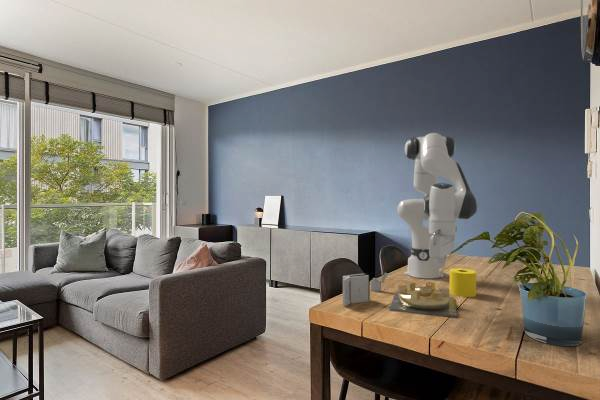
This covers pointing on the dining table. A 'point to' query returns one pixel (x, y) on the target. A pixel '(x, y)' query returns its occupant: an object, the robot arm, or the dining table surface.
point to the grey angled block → (377, 283)
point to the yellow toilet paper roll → (463, 282)
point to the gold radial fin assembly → (423, 296)
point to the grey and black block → (356, 288)
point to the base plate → (448, 311)
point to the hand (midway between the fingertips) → (441, 267)
